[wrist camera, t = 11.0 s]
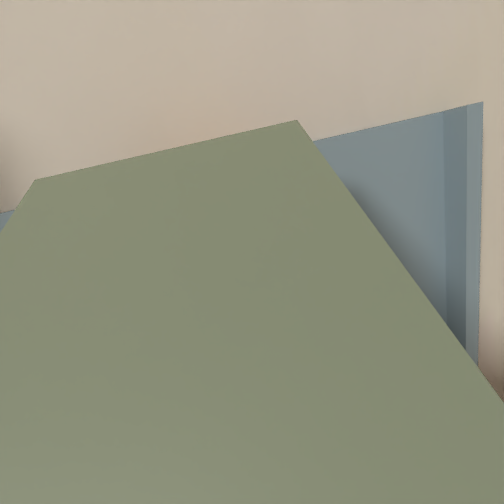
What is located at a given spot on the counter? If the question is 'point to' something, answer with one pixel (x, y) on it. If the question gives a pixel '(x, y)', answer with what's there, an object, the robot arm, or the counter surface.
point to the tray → (421, 203)
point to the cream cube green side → (228, 342)
